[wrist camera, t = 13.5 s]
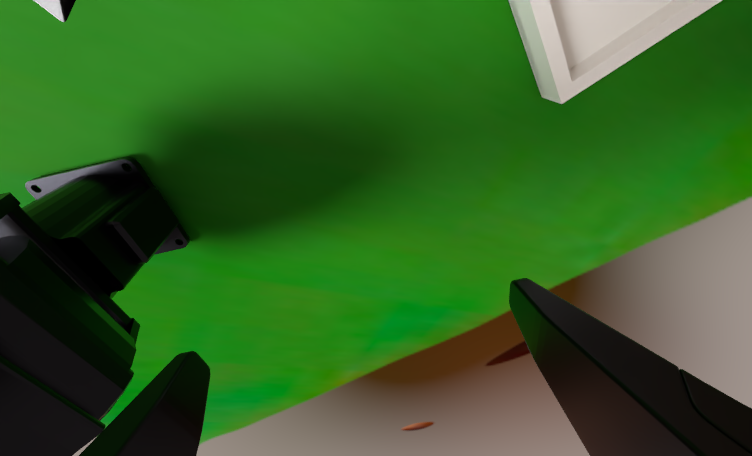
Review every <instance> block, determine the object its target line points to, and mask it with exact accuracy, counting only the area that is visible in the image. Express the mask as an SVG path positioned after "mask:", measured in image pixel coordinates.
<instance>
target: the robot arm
mask: <svg viewBox="0 0 752 456" xmlns="http://www.w3.org/2000/svg"><path fill="white" fill-rule="evenodd" d="M126 163H127V164H129V165H130V166H131V168H132V169H130V168H128V167H127V166H126ZM25 186H26V189H27V190H28V191H29V192H30V193H31V195H32V196H33V197H34V198H35V199H36V200H35V201H33V202H32V203H30V204H28V205H26V206H25V207H23V208H21V207H20V206H19V205H20V204H21V203H20V202H19V201H18V200H17V199H16V198H15V197H14V196H13V195H12V194H11V193H5V194H0V456H72V455H73V454H74V453H76V452H77V451H78V450H79V449H80V448H82V447H83V446H85V445H86V444H87V443H89V442H90V441H91V440H93V439H94V438H95V437H96V436H97V438H96V439H95V440H94V441H93V442H92V443H91V444H90V445H89V446H88V447H87V448H86V449H85V450H84V451H83V452H82V453H81V454H80V455H79V456H196V454H197V450H198V446H199V442H200V437H201V433H202V427H203V422H204V415H205V408H206V401H207V394H208V387H209V381H210V368H209V366H208V365H207V364H206V363H205V362H204V360H203V359H202V358H201V357H200V356H199V355H198V354H197V353H196V352H194V351H190V352H185V353H181V354H179V355H177V356H176V357H175V358H174V359H173V360H172V361H171V362H170V363H169V364H168V365H167V366H166V367H165V368H164V369H163V370H162V371H161V372H160V373H159V374H158V375H157V376H156V377H155V378H154V379H153V380H152V381H151V382H150V383H149V384H148V385H147V386H146V387H145V388H144V389H143V390H142V391H141V392H140V393H139V395H138V396H137V397H136V398H135V399H134V400H133V401H132V402H131V403H130V404H129V405H128V406H127V407H126V408H125V409H124V410H123V411H122V412H121V413H120V414H119V415H118V416H117V417H116V418H115V419H114V420H113V421H112V422H111V423H110V424H109V425H108V426H107V427H106V428H105V424H103V423H102V422H100V420H101V419H102V418H103V417H104V416H105V415H106V414H107V413H108V412H109V411H110V409H111V408H112V407H113V406H114V404H115V403H116V402H117V400H118V399H119V398H120V396H121V395H122V394H123V393H124V391H125V389H126V388H127V386H128V385H129V383H130V381H131V380H132V377H133V374H134V373H133V371H132V370H131V369H130V368H131V366H132V363H133V359H134V356H135V352H136V347H135V344H136V340H137V336H138V332H139V328H140V324H139V323H138V322H137V321H136V320H135V319H134V318H130V317H129V316H128V315H127V314H126V313H125V312H124V311H123V310H122V309H121V308H120V307H119V306H118V305H117V304H116V303H115V302H114V301H113V300H112V298H113V297H114V295H115V294H116V293H117V292H118V291H121V290H123V289H124V288H125V287H126V285H127V284H128V283H129V282H130V281H131V279H132V278H133V277H134V276H135V274H136V273H137V272H138V271H139V270H140V268H141V267H142V266H143V265H144V264H145V263H147V262H148V261H149V260H150V259H151V257H152V256H153V255H154V254H159V253H163V252H168V251H172V250H176V249H181V248H184V247H186V246H187V244H188V243H189V241H190V239H189V237H188V235H187V234H186V232H185V231H184V229H183V228H182V227H181V225H180V224H179V221H178V219H177V218H176V216H175V215H174V213H173V212H172V210H171V209H170V208H169V206H168V205H167V203H166V202H165V200H164V199H163V197H162V196H161V194H160V193H159V191H158V190H157V189H156V188H155V186H154V185H153V184H152V182H151V181H150V179H149V178H148V176H147V175H146V173H145V172H144V170H143V169H142V167H141V166H140V164H139V163H138V162H137V161H136V160H135V159H133V158H131V157H123V158H119V159H114V160H110V161H106V162H102V163H97V164H93V165H89V166H85V167H81V168H76V169H72V170H68V171H64V172H59V173H55V174H51V175H47V176H43V177H38V178H34V179H32V180H30V181H28V182H26V184H25ZM37 186H39V187H40V188H41V189H40V188H38V187H37ZM178 239H180V240H182V241H183V242H181V241H179V240H178ZM509 304H510V307H511V310H512V312H513V314H514V317H515V319H516V321H517V323H518V325H519V328H520V330H521V332H522V334H523V337H524V339H525V341H526V343H527V345H528V348H529V350H530V352H531V354H532V356H533V358H534V360H535V362H536V364H537V366H538V368H539V369H540V371H541V373H542V375H543V376H544V378H545V380H546V381H547V383H548V385H549V386H550V388H551V390H552V392H553V393H554V395H555V397H556V398H557V400H558V402H559V404H560V405H561V407H562V408H563V410H564V412H565V414H566V415H567V417H568V419H569V421H570V422H571V424H572V426H573V427H574V429H575V431H576V432H577V434H578V436H579V438H580V439H581V441H582V443H583V444H584V446H585V448H586V450H587V451H588V453H589V455H590V456H752V409H751V408H749V407H748V406H746V405H743V404H742V403H740V402H738V401H737V400H735V399H733V398H731V397H729V396H728V395H726V394H724V393H723V392H721V391H719V390H717V389H715V388H714V387H712V386H710V385H708V384H707V383H705V382H703V381H701V380H700V379H698V378H696V377H695V376H693V375H691V374H690V373H688V372H686V371H684V370H683V369H680V370H679V368H678V367H677V366H676V365H674V364H672V363H671V362H669V361H667V360H666V359H664V358H662V357H660V356H659V355H657V354H655V353H654V352H652V351H650V350H648V349H647V348H645V347H643V346H642V345H640V344H638V343H637V342H635V341H633V340H632V339H630V338H628V337H626V336H625V335H623V334H621V333H619V332H618V331H616V330H615V329H613V328H611V327H609V326H608V325H606V324H604V323H603V322H601V321H599V320H598V319H596V318H594V317H592V316H591V315H589V314H587V313H586V312H584V311H582V310H581V309H579V308H577V307H575V306H574V305H572V304H570V303H569V302H567V301H565V300H564V299H562V298H560V297H558V296H557V295H555V294H553V293H552V292H550V291H548V290H547V289H545V288H543V287H541V286H540V285H538V284H536V283H535V282H533V281H531V280H530V279H527V278H522V279H518V280H513V281H512V282H511V284H510V296H509ZM104 428H105V429H104Z"/></svg>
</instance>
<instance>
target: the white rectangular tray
mask: <svg viewBox="0 0 752 456" xmlns="http://www.w3.org/2000/svg"><path fill="white" fill-rule="evenodd" d="M508 1H509V4H510V7H511V10H512V12H513V15H514V18H515V21H516V24H517V27H518V30H519V33H520V36H521V39H522V42H523V44H524V47H525V50H526V53H527V56H528V59H529V62H530V65H531V68H532V71H533V74H534V77H535V79H536V82H537V85H538V88H539V91H540V94H541V97H542V98H545V99H548V100H551V101H554V102H557V103H560V104H563V103H564V102H566V101H567V100H569V99H570V98H572V97H574V96H575V95H577V94H578V93H580V92H581V91H583V90H584V89H586V88H587V87H589V86H591V85H592V84H594V83H595V82H597V81H598V80H600V79H601V78H603V77H604V76H606V75H608V74H609V73H611V72H612V71H614V70H615V69H617V68H618V67H620V66H622V65H623V64H625V63H626V62H628V61H629V60H631V59H632V58H634V57H635V56H637V55H639V54H640V53H642V52H643V51H645V50H646V49H648V48H649V47H651V46H652V45H654V44H656V43H657V42H659V41H660V40H662V39H663V38H665V37H666V36H668V35H669V34H671V33H673V32H674V31H676V30H677V29H679V28H680V27H682V26H683V25H685V24H687V23H688V22H690V21H691V20H693V19H694V18H696V17H697V16H699V15H700V14H702V13H704V12H705V11H707V10H708V9H710V8H711V7H713V6H714V5H716V4H717V3H719V2H721V1H722V0H508Z"/></svg>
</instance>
